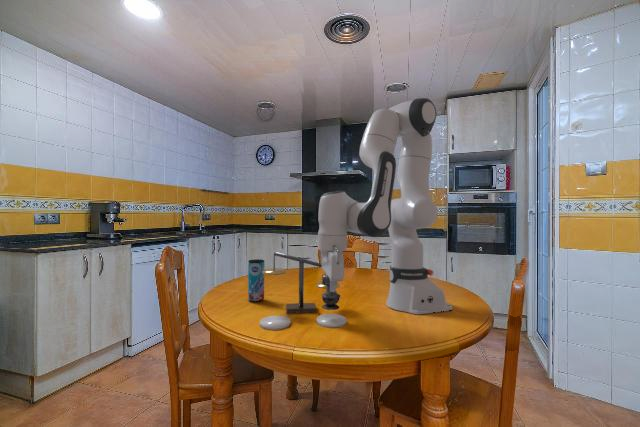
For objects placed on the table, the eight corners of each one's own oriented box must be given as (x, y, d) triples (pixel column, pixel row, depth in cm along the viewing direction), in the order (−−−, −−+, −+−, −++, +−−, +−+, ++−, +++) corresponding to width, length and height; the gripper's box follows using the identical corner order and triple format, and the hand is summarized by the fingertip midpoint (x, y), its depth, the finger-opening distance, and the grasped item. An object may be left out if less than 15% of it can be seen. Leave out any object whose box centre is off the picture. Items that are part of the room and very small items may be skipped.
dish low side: (342, 316, 99) (343, 313, 99) (349, 327, 90) (349, 323, 90) (315, 317, 97) (315, 314, 97) (318, 328, 89) (318, 324, 89)
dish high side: (289, 318, 96) (289, 315, 96) (290, 329, 88) (290, 325, 87) (260, 319, 95) (260, 316, 95) (258, 330, 86) (258, 326, 86)
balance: (336, 305, 110) (337, 249, 110) (341, 312, 102) (342, 252, 102) (262, 307, 107) (262, 250, 107) (260, 315, 99) (261, 253, 99)
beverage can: (246, 302, 112) (246, 261, 112) (250, 298, 118) (250, 259, 118) (262, 302, 112) (262, 262, 112) (265, 298, 118) (265, 259, 118)
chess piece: (338, 311, 90) (339, 270, 90) (319, 309, 91) (320, 268, 91) (341, 305, 96) (342, 266, 96) (323, 303, 97) (324, 265, 97)
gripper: (350, 248, 83) (349, 299, 83) (336, 241, 104) (335, 281, 104) (327, 248, 83) (326, 299, 83) (317, 240, 103) (317, 282, 103)
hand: (331, 289), depth 93 cm, fingers closed on chess piece, 3 cm apart
